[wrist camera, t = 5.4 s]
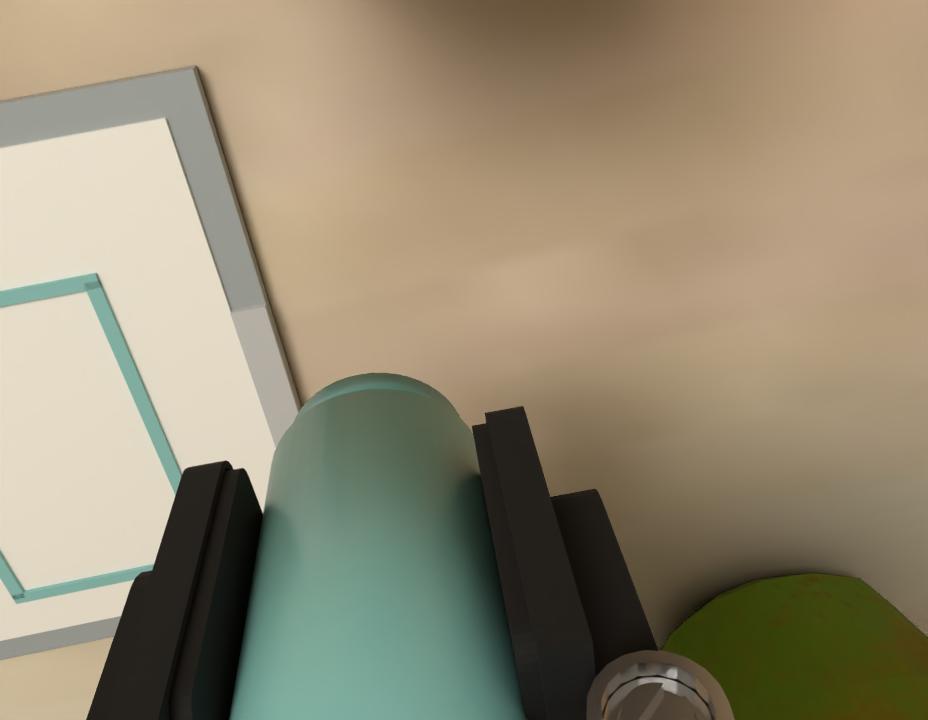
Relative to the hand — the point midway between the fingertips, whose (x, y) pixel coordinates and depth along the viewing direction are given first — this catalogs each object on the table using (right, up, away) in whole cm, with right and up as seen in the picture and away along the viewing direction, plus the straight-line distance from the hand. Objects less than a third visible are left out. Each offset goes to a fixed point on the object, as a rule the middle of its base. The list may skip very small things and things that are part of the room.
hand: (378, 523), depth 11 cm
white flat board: (-12, +1, +13) cm, 17 cm away
